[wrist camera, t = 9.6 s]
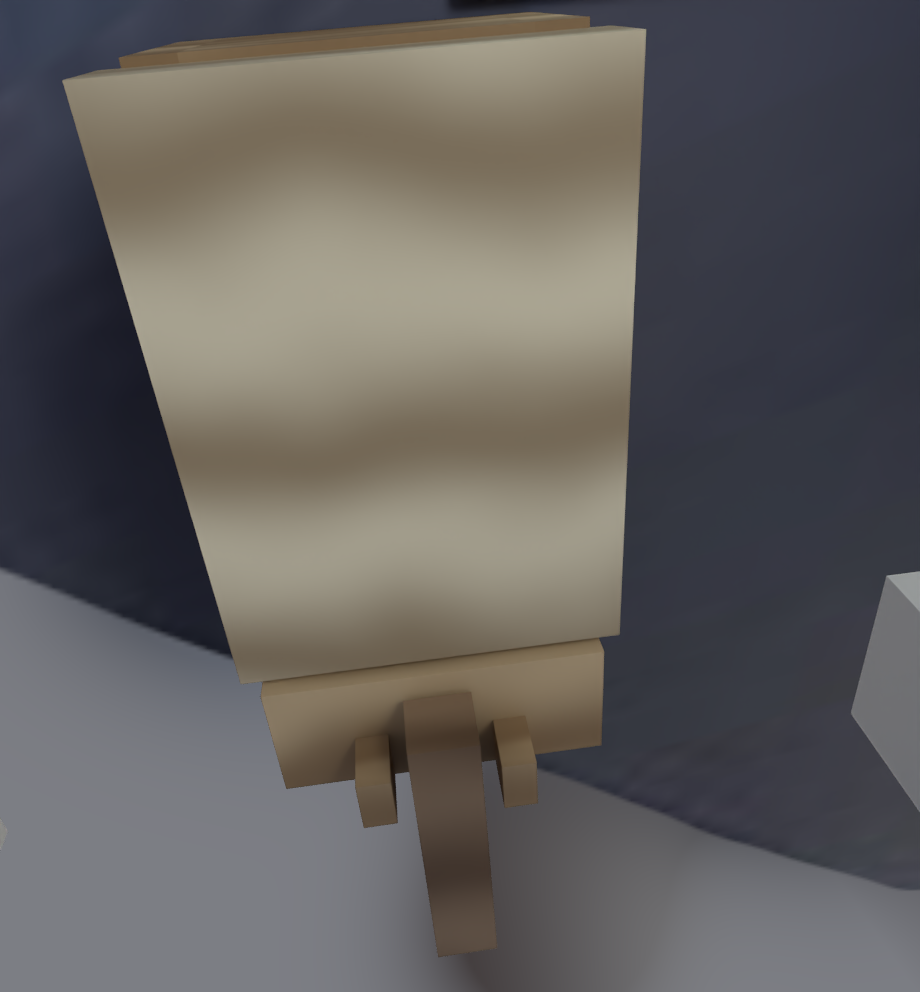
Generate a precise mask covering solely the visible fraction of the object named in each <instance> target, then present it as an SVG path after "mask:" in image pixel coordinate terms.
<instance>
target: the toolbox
mask: <svg viewBox="0 0 920 992" xmlns="http://www.w3.org/2000/svg"><path fill="white" fill-rule="evenodd" d="M579 28H590V17H585V16H573V15H561V14H548V13H536V12H524V13H512V14H501V15H489V16H477V17H466V18H454V19H442V20H431V21H419V22H407V23H396V24H384V25H372V26H361V27H349V28H338V29H326V30H314V31H303V32H291V33H279V34H268V35H256V36H244V37H233V38H221V39H209V40H198V41H186V42H178V43H174V44H170V45H166V46H162V47H158V48H154V49H150V50H147V51H143V52H139V53H135V54H131V55H127V56H123V57H119V61H120V65H121V68H132V67H143V66H155V65H166V64H178V63H189V62H201V61H212V60H224V59H235V58H247V57H258V56H270V55H281V54H293V53H304V52H315V51H327V50H338V49H350V48H361V47H373V46H384V45H396V44H407V43H419V42H430V41H442V40H453V39H464V38H476V37H487V36H499V35H510V34H522V33H533V32H545V31H556V30H568V29H579ZM603 672H604V650H603V648H602V645H601V642H600V640H599V637H598V638H591V639H583V640H575V641H568V642H560V643H553V644H545V645H537V646H530V647H522V648H514V649H507V650H499V651H491V652H484V653H476V654H469V655H461V656H453V657H446V658H438V659H430V660H423V661H415V662H407V663H400V664H392V665H385V666H377V667H369V668H362V669H354V670H346V671H339V672H331V673H324V674H316V675H308V676H301V677H293V678H285V679H278V680H270V681H263V683H262V691H261V700H262V704H263V707H264V710H265V714H266V718H267V721H268V725H269V729H270V732H271V736H272V739H273V743H274V747H275V750H276V753H277V757H278V760H279V764H280V767H281V771H282V775H283V778H284V782H285V785H286V788H287V789H288V788H296V787H303V786H310V785H317V784H325V783H332V782H339V781H346V780H354V779H355V788H356V793H357V798H358V803H359V807H360V812H361V817H362V822H363V826H364V828H367V827H374V826H381V825H388V824H395V823H398V820H397V804H396V803H397V802H396V783H395V774H397V773H404V772H409V766H408V760H407V751H406V737H405V722H404V708H403V701H406V700H414V699H421V698H429V697H436V696H444V695H451V694H459V693H466V692H471V694H472V700H473V706H474V712H475V718H476V724H477V730H478V736H479V741H480V750H481V761H482V762H484V761H491V760H496V764H497V769H498V775H499V780H500V785H501V791H502V795H503V801H504V807H505V808H508V807H514V806H521V805H529V804H536V803H538V793H537V762H536V758H535V754H541V753H548V752H556V751H563V750H570V749H577V748H585V747H592V746H599V745H601V736H602V704H603Z"/></svg>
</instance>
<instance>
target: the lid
mask: <svg viewBox="0 0 920 992" xmlns="http://www.w3.org/2000/svg"><path fill="white" fill-rule="evenodd" d="M645 42H646V29H639V28H630V27H621V26H602V27H591V28H579V29H568V30H556V31H545V32H533V33H522V34H510V35H499V36H487V37H476V38H464V39H453V40H442V41H430V42H419V43H407V44H396V45H384V46H373V47H361V48H350V49H338V50H327V51H315V52H304V53H293V54H281V55H270V56H258V57H247V58H235V59H224V60H212V61H201V62H189V63H178V64H166V65H155V66H143V67H132V68H121V69H109V70H98V71H94V72H90V73H87V74H83V75H80V76H76V77H73V78H69V79H66V80H62V81H63V84H64V88H65V91H66V94H67V98H68V101H69V105H70V108H71V111H72V115H73V118H74V121H75V125H76V128H77V132H78V135H79V138H80V142H81V145H82V149H83V152H84V155H85V159H86V162H87V165H88V169H89V172H90V176H91V179H92V182H93V186H94V189H95V193H96V196H97V199H98V203H99V206H100V209H101V213H102V216H103V220H104V223H105V226H106V230H107V233H108V237H109V240H110V243H111V247H112V250H113V253H114V257H115V260H116V264H117V267H118V270H119V274H120V277H121V280H122V284H123V287H124V291H125V294H126V297H127V301H128V304H129V308H130V311H131V314H132V318H133V321H134V324H135V328H136V331H137V335H138V338H139V341H140V345H141V348H142V352H143V355H144V358H145V362H146V365H147V368H148V372H149V375H150V379H151V382H152V385H153V389H154V392H155V396H156V399H157V402H158V406H159V409H160V412H161V416H162V419H163V423H164V426H165V429H166V433H167V436H168V440H169V443H170V446H171V450H172V453H173V456H174V460H175V463H176V467H177V470H178V473H179V477H180V480H181V484H182V487H183V490H184V494H185V497H186V500H187V504H188V507H189V511H190V514H191V517H192V521H193V524H194V527H195V531H196V534H197V538H198V541H199V544H200V548H201V551H202V555H203V558H204V561H205V565H206V568H207V571H208V575H209V578H210V582H211V585H212V588H213V592H214V595H215V599H216V602H217V605H218V609H219V612H220V615H221V619H222V622H223V626H224V629H225V632H226V636H227V639H228V643H229V646H230V649H231V653H232V656H233V659H234V663H235V666H236V670H237V673H238V676H239V680H240V683H241V684H247V683H255V682H262V681H270V680H278V679H285V678H293V677H301V676H308V675H316V674H324V673H331V672H339V671H346V670H354V669H362V668H369V667H377V666H385V665H392V664H400V663H407V662H415V661H423V660H430V659H438V658H446V657H453V656H461V655H469V654H476V653H484V652H491V651H499V650H507V649H514V648H522V647H530V646H537V645H545V644H553V643H560V642H568V641H575V640H583V639H591V638H598V637H606V636H614V635H619V633H620V611H621V588H622V565H623V542H624V520H625V497H626V474H627V451H628V428H629V406H630V383H631V360H632V337H633V315H634V292H635V269H636V246H637V224H638V201H639V178H640V155H641V133H642V110H643V87H644V64H645Z"/></svg>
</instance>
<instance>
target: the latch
mask: <svg viewBox="0 0 920 992" xmlns="http://www.w3.org/2000/svg"><path fill="white" fill-rule="evenodd" d="M403 708H404V722H405V737H406V751H407V760H408V766H409V773H410V779H411V785H412V792H413V798H414V805H415V811H416V817H417V823H418V830H419V836H420V843H421V849H422V856H423V862H424V868H425V875H426V882H427V888H428V894H429V901H430V907H431V914H432V920H433V927H434V933H435V939H436V946H437V952H438V957H442V956H448V955H455V954H462V953H469V952H476V951H482V950H489V949H495V948H497V940H496V927H495V916H494V905H493V893H492V881H491V868H490V857H489V844H488V833H487V821H486V809H485V797H484V785H483V773H482V761H481V750H480V741H479V736H478V730H477V724H476V718H475V712H474V706H473V700H472V694H471V692H466V693H459V694H451V695H444V696H436V697H429V698H421V699H414V700H406V701H403Z"/></svg>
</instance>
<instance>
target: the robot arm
mask: <svg viewBox="0 0 920 992" xmlns="http://www.w3.org/2000/svg"><path fill="white" fill-rule="evenodd" d="M851 714H852V716H853V717H854V719H855V720H856V722H857V723H858V724H859V726H860V727H861V729H862V730H863V732H864V733H865V734H866V736H867V737H868V739H869V740H870V742H871V743H872V744H873V746H874V747H875V749H876V750H877V752H878V753H879V754H880V756H881V757H882V759H883V760H884V762H885V763H886V765H887V766H888V767H889V769H890V770H891V772H892V773H893V775H894V776H895V777H896V779H897V780H898V782H899V783H900V785H901V786H902V787H903V789H904V790H905V792H906V793H907V795H908V796H909V797H910V799H911V800H912V802H913V803H914V805H915V806H916V807H917V809H918V810H919V812H920V572H912V573H904V574H897V575H889V576H886V580H885V584H884V588H883V592H882V595H881V599H880V603H879V607H878V611H877V615H876V618H875V622H874V626H873V630H872V634H871V638H870V642H869V645H868V649H867V653H866V657H865V661H864V665H863V668H862V672H861V676H860V680H859V684H858V688H857V691H856V695H855V699H854V703H853V707H852V711H851ZM7 834H8V831H7V829H6V827H5V826H4V824H3V822H2V821H1V819H0V850H1V848H2V846H3V843H4V841H5V838H6V836H7Z"/></svg>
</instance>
